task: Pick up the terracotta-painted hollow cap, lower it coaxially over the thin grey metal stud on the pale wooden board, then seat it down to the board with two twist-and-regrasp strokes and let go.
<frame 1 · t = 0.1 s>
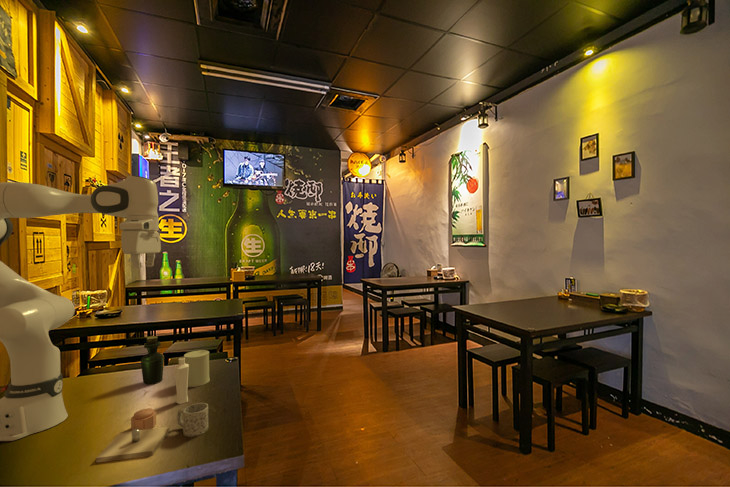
hand: (143, 267, 111), 48 cm above the table, fingers open, 8 cm apart
potion bottle: (153, 382, 137), on the table
can: (197, 382, 136), on the table
mug: (191, 430, 100), on the table
board: (135, 445, 93), on the table
perfume bottle: (183, 401, 119), on the table
cap: (143, 427, 102), on the table
stud: (135, 435, 93), on the board, point 3 cm above the table
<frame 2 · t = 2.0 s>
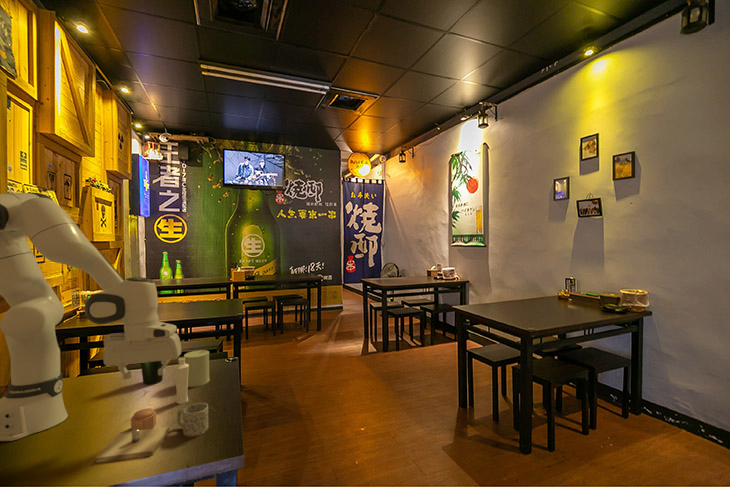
hand: (144, 376, 102), 15 cm above the table, fingers open, 8 cm apart
nothing on the table moved.
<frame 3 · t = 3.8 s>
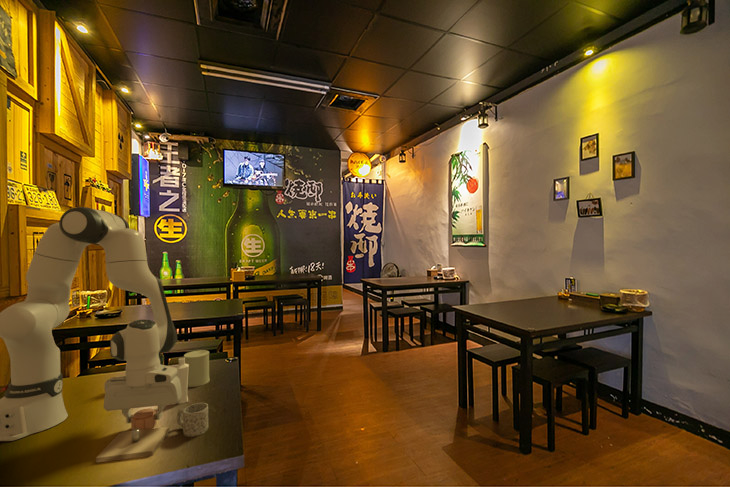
hand: (144, 420, 102), 2 cm above the table, fingers closed on cap, 6 cm apart
cap: (144, 427, 102), on the table, touching gripper
everything else where it was.
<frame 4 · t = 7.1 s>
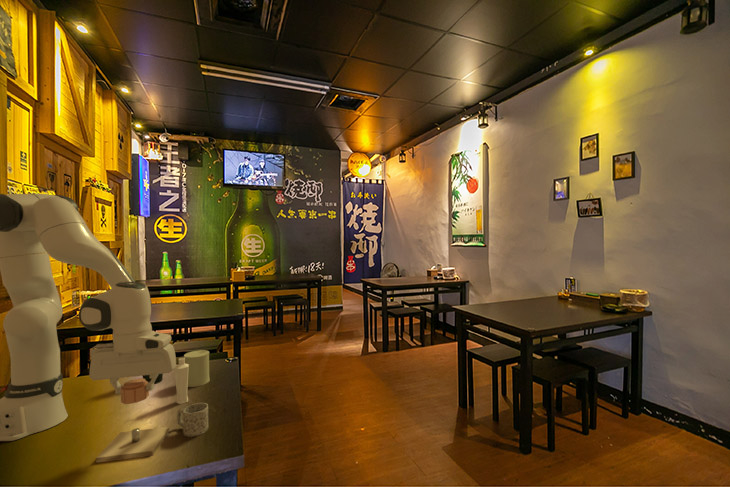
hand: (135, 391, 93), 15 cm above the table, fingers closed on cap, 6 cm apart
cap: (135, 398, 93), point 13 cm above the table, touching gripper
everything else where it was.
when the fingers open (3 cm above the table, at t = 10.2 s): cap stays where it is, resting on board.
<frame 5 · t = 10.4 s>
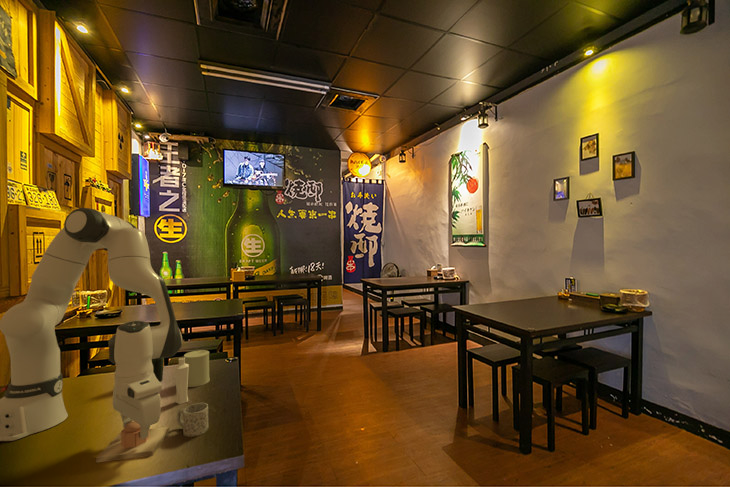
hand: (135, 432, 93), 4 cm above the table, fingers open, 8 cm apart
cap: (135, 441, 93), point 1 cm above the table, touching board
everything else where it was.
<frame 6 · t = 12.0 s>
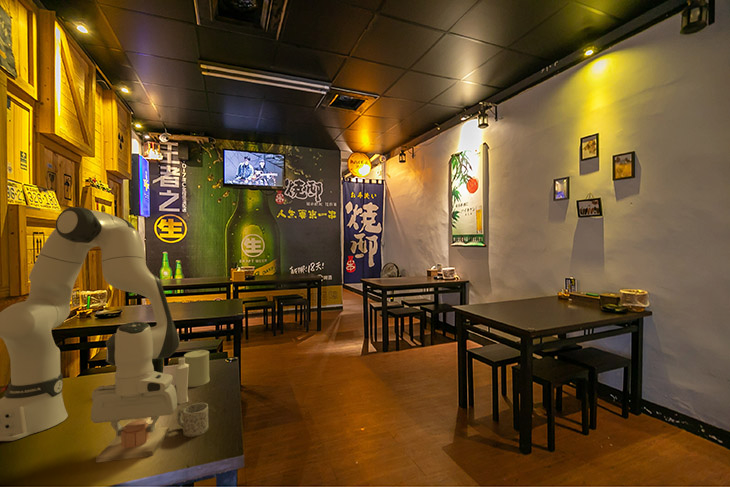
hand: (136, 433, 93), 3 cm above the table, fingers closed on cap, 6 cm apart
cap: (135, 441, 93), point 1 cm above the table, touching board, gripper
everything else where it was.
when the fingers open (5 cm above the table, at t = 13.8 s): cap drops 1 cm, resting on board.
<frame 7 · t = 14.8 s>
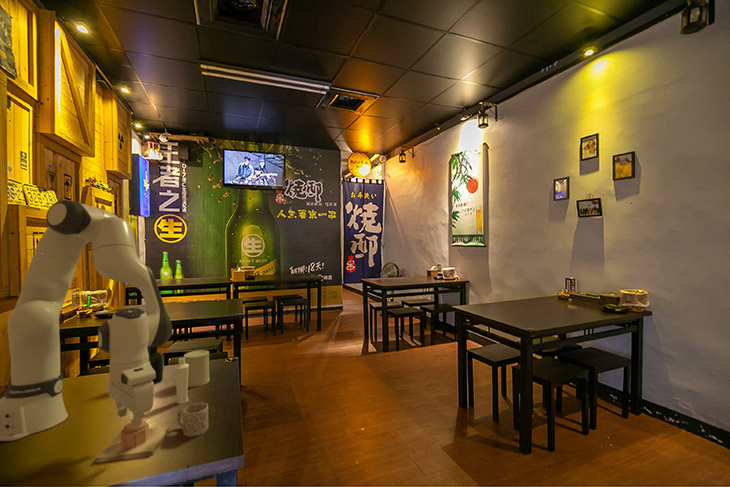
hand: (129, 420, 92), 7 cm above the table, fingers open, 8 cm apart
cap: (135, 441, 93), point 1 cm above the table, touching board
everything else where it was.
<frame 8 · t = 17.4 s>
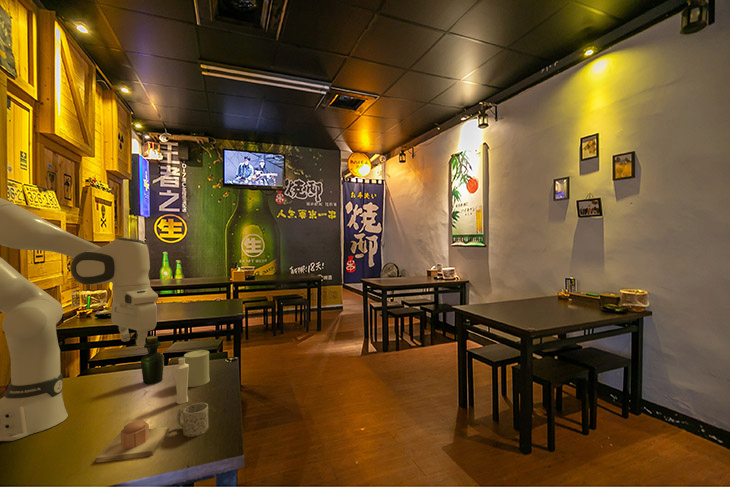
hand: (132, 343, 96), 27 cm above the table, fingers open, 8 cm apart
nothing on the table moved.
at the end: cap 0.1 cm from the stud (horizontally); cap point 1.2 cm above the table; cap tilted 0° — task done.
